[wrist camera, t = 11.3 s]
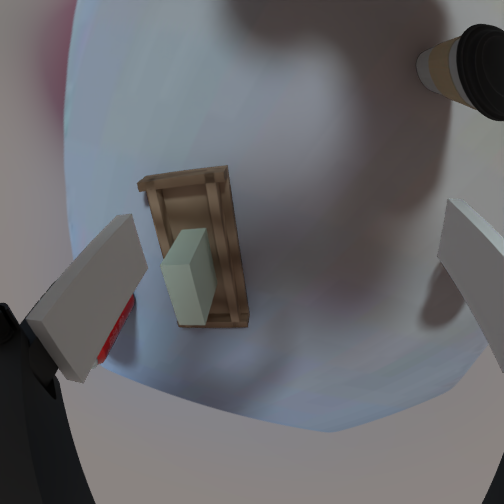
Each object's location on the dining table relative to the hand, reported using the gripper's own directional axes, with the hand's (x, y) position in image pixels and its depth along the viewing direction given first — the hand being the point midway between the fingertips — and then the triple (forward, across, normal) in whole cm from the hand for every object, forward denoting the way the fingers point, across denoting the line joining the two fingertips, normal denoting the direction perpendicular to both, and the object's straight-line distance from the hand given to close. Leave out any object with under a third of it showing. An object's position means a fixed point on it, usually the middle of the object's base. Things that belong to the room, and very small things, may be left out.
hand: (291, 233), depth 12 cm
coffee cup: (+28, +20, +8) cm, 35 cm away
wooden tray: (+26, -13, -16) cm, 34 cm away
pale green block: (+25, -13, -17) cm, 33 cm away
